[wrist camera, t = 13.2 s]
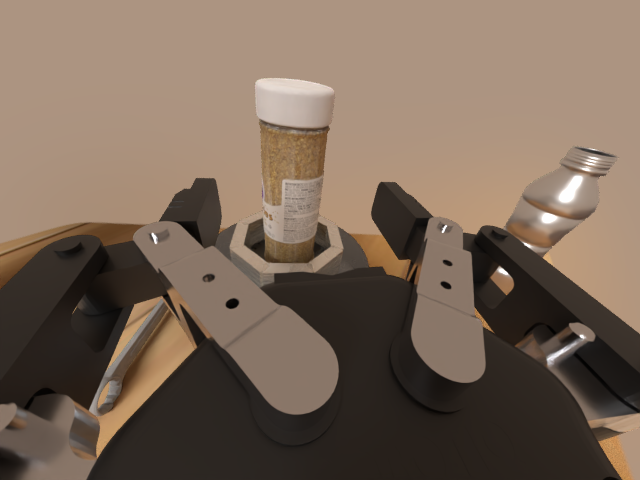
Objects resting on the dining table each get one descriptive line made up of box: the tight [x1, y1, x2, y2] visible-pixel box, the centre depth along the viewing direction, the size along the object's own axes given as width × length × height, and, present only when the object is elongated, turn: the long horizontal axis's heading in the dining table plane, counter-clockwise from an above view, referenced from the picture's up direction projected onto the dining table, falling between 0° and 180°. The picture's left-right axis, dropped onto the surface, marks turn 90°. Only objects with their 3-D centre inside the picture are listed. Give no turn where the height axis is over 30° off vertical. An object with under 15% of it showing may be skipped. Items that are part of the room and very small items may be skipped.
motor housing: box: [215, 210, 369, 288], centre depth 25 cm, size 15×18×12 cm
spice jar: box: [255, 78, 335, 263], centre depth 17 cm, size 5×5×13 cm
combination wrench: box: [89, 298, 168, 416], centre depth 26 cm, size 4×1×20 cm
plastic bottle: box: [491, 146, 619, 294], centre depth 30 cm, size 6×7×20 cm
